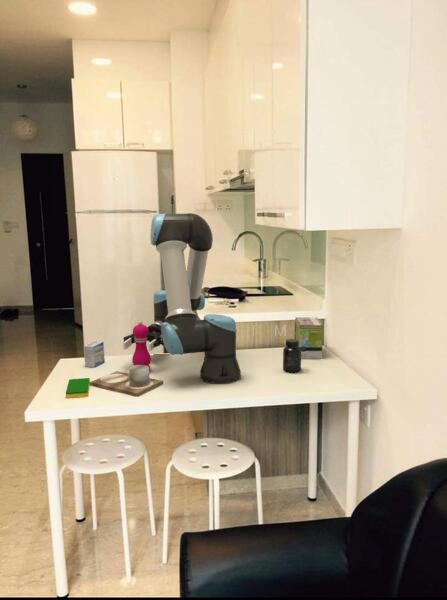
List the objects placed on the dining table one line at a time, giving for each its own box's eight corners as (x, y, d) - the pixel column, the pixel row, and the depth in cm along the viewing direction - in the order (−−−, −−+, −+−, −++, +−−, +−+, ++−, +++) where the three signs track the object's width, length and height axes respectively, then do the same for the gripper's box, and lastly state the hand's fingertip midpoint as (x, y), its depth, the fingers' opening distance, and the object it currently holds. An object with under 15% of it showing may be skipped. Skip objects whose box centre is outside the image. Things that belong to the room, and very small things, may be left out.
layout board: (163, 384, 181) (162, 364, 180) (137, 396, 169) (136, 376, 168) (117, 374, 192) (116, 355, 191) (89, 385, 181) (88, 365, 179)
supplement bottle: (285, 367, 199) (285, 337, 197) (302, 369, 197) (303, 339, 195) (280, 372, 193) (281, 342, 191) (298, 374, 190) (299, 343, 188)
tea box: (322, 359, 209) (323, 324, 206) (298, 359, 209) (299, 324, 206) (316, 349, 224) (317, 316, 221) (293, 349, 224) (294, 316, 221)
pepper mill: (147, 374, 191) (145, 323, 188) (129, 373, 193) (127, 322, 189) (154, 368, 198) (152, 319, 195) (136, 367, 200) (134, 318, 196)
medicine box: (94, 368, 200) (93, 346, 198) (84, 367, 201) (83, 346, 200) (105, 362, 207) (103, 341, 206) (95, 361, 209) (94, 340, 207)
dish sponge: (90, 383, 183) (89, 377, 183) (88, 397, 170) (87, 391, 170) (69, 385, 182) (69, 379, 181) (66, 399, 169) (65, 392, 168)
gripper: (181, 341, 210) (165, 357, 188) (131, 339, 214) (109, 355, 192) (181, 324, 208) (164, 338, 187) (130, 322, 212) (108, 335, 191)
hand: (136, 346), depth 189 cm, fingers open, 9 cm apart
